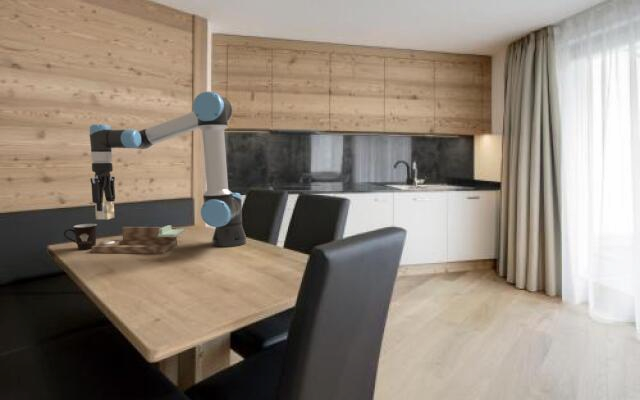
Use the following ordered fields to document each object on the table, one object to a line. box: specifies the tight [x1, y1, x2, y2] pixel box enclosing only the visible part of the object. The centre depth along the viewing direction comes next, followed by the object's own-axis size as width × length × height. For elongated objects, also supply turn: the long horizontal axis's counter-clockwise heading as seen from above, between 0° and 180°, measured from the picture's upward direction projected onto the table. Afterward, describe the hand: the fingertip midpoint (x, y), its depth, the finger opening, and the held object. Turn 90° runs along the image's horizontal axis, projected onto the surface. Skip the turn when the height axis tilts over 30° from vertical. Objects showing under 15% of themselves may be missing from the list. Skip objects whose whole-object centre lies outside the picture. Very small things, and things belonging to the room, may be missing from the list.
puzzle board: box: [91, 226, 178, 254], centre depth 166 cm, size 30×14×8 cm, turn 88°
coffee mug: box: [63, 223, 98, 251], centre depth 167 cm, size 12×9×10 cm
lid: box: [158, 224, 186, 237], centre depth 165 cm, size 7×11×3 cm, turn 178°
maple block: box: [94, 203, 115, 220], centre depth 164 cm, size 5×5×6 cm
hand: (105, 217), depth 164 cm, fingers closed on maple block, 5 cm apart
